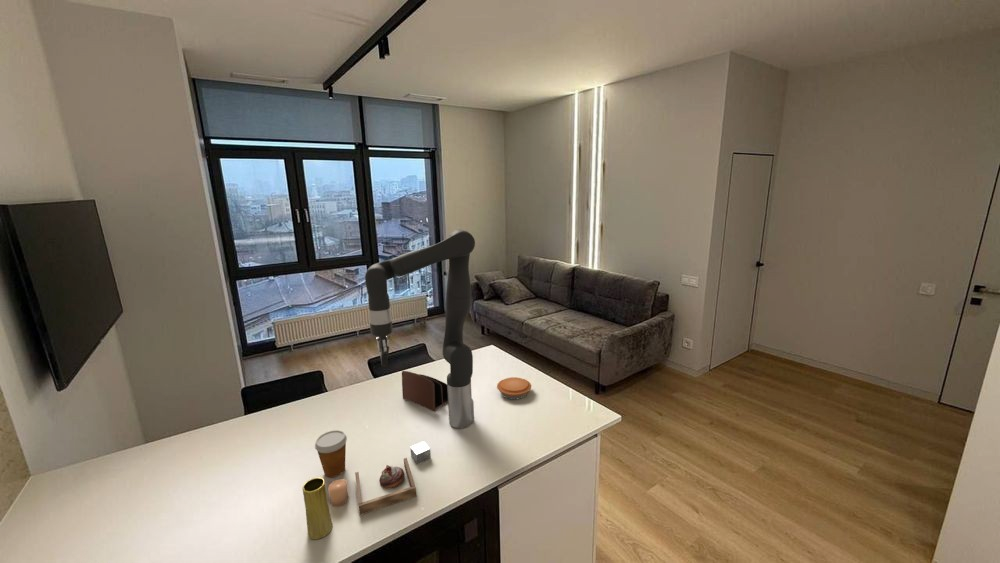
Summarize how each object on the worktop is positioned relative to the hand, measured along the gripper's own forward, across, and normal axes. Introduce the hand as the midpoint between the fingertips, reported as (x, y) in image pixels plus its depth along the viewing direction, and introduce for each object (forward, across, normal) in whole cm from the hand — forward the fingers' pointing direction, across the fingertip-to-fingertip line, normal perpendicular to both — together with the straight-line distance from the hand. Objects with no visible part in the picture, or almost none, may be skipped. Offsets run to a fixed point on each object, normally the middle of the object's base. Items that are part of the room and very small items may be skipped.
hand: (385, 365), depth 138 cm
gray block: (+27, -20, -7) cm, 34 cm away
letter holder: (+27, +17, -18) cm, 37 cm away
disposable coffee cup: (+27, -14, +20) cm, 37 cm away
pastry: (+27, -26, +4) cm, 38 cm away
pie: (+27, +5, -55) cm, 62 cm away
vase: (+27, -37, +24) cm, 52 cm away
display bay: (+27, -29, +6) cm, 40 cm away
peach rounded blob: (+27, -28, +19) cm, 43 cm away
